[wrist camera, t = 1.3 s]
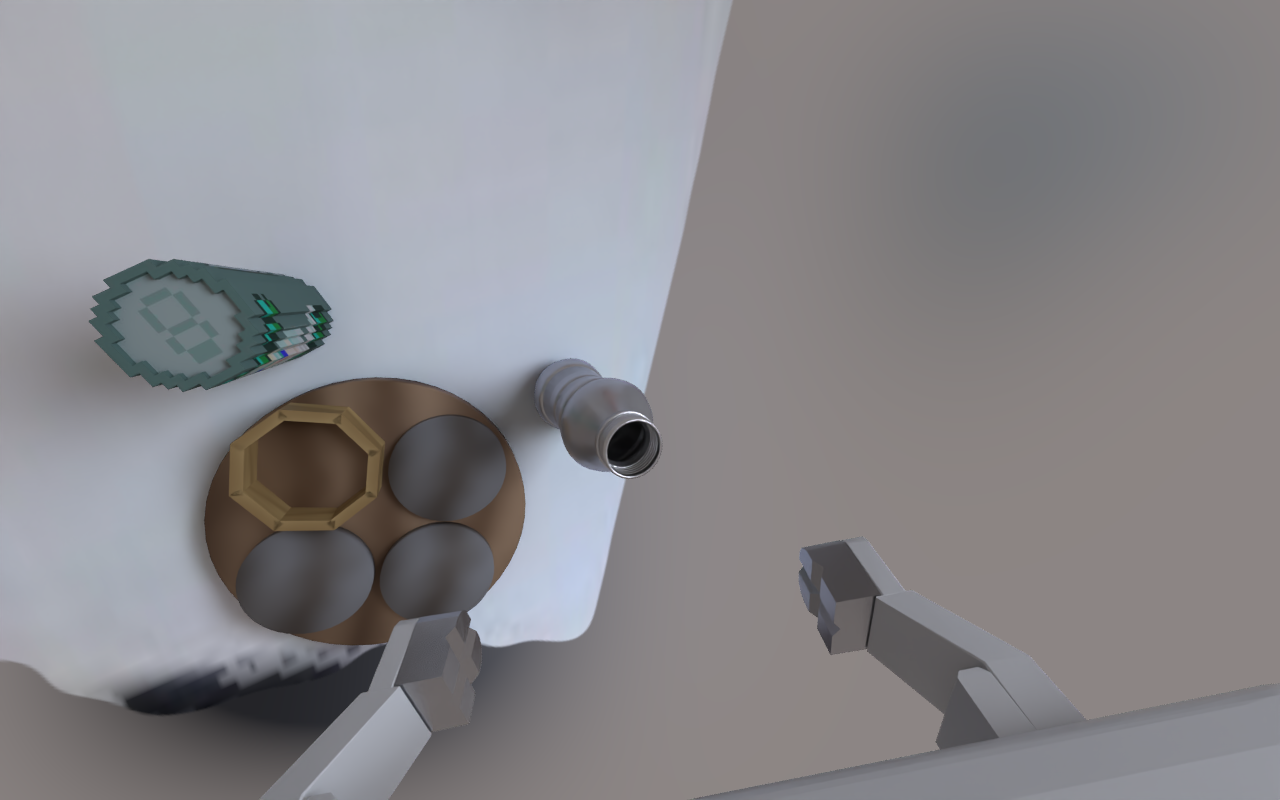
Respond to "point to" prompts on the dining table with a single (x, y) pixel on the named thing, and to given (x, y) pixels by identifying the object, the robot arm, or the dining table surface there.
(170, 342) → the can
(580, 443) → the plastic bottle
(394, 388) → the wooden stone platter
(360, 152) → the dining table surface
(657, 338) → the dining table surface
